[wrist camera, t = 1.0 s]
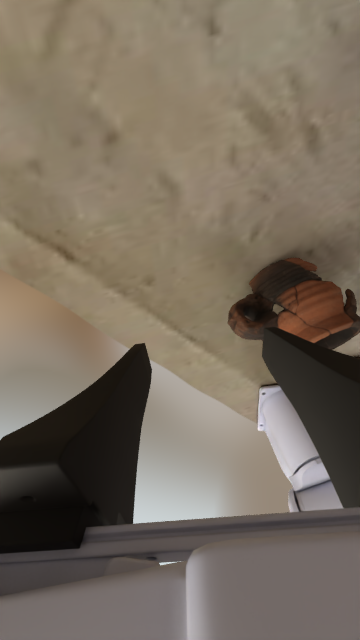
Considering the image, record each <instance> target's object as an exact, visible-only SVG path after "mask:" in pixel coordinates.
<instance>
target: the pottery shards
mask: <svg viewBox="0 0 360 640" xmlns="http://www.w3.org/2000/svg"><path fill="white" fill-rule="evenodd" d="M316 270H317V266H315V265H314V264H312V263H309V262H306V261H303V260H302V259H300V258H288V259H284V260H280V261H278V262H276V263H273V264H271V265H269V266H268V267H266V268H264V269H263V270H262V271H260V272H259V273H258V274H257V275H256V276H255V277H254V278H253V279H252V280H251V282H250V283H249V285H250V286H251V287H252V291H253V293H254V294H249V295H247V296H246V298H244V299H241V300H239V301H238V302H237V303H235V304H234V305H233V306H232V307H231V309H230V311H229V316H228V324H229V325H230V327H231V329H232V330H233V331H234V332H235V334H237V335H238V336H240V337H242V338H244V339H249V340H262V341H263V335H264V328H268V327H277V328H280V329H282V330H285V331H287V332H289V333H292V334H294V335H296V336H298V337H301V338H303V339H305V340H308V341H310V342H312V343H315V344H317V345H320V346H322V347H325V348H328V349H330V350H333V349H335V348H337V347H338V346H340V345H342V344H344V343H345V342H347V341H348V340H350V339H351V338H353V337H354V336H356V335H357V334H358V333H359V332H360V317H359V316H358V315H357V314H356V311H357V303H356V299H355V295H354V293H353V292H352V291H351V290H350V289H347V290H346V291H345V293H346V297H347V299H346V304H345V306H344V302H343V295H342V292H341V288H339V287H338V286H336V285H335V284H334V283H333V282H330V281H322V278H321V277H319V276H318V275H316V274H314V273H312V272H310V271H316ZM274 304H277V305H279V306H281V307H283V308H284V310H283V311H281V312H279V314H278V315H277V314H276V313H275V312H273V311H272V310H273V306H274Z"/></svg>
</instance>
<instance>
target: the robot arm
mask: <svg viewBox="0 0 360 640" xmlns="http://www.w3.org/2000/svg"><path fill="white" fill-rule="evenodd" d="M262 357H263V359H264V361H265V363H266V365H267V367H268V369H269V371H270V373H271V374H272V376H273V377H274V379H275V380H276V382H277V383H278V385H274V386H266V387H261V388H260V389H259V406H258V426H257V427H258V430H259V431H265V432H266V434H267V436H268V439H269V441H270V443H271V446H272V448H273V450H274V452H275V454H276V457H277V459H278V462H279V464H280V466H281V468H282V470H283V472H284V474H285V475H286V477H287V478H288V479H289V480H290V482H291V484H292V486H293V489H290V490H289V499H288V503H289V509H290V512H287V513H275V514H260V515H248V516H247V515H246V516H234V517H219V518H206V519H194V520H193V519H192V520H179V521H165V522H152V523H139V524H133V513H134V512H133V511H134V497H135V485H136V472H137V461H138V452H139V443H140V435H141V434H140V433H141V426H142V421H143V416H144V412H145V407H146V402H147V398H148V394H149V389H150V384H151V373H152V369H151V364H150V361H149V357H148V353H147V350H146V346H145V343H142V344H135V345H134V346H133V347H132V348H131V349H130V350H129V351H128V352H127V353H126V354H125V355H124V356H123V357H122V358H121V359H120V360H119V361H118V362H117V363H116V364H115V365H114V366H113V367H112V368H110V370H108V371H107V372H106V373H105V374H104V375H103V376H102V377H101V378H99V379H98V380H97V381H96V382H94V383H93V384H92V385H91V386H89V387H88V388H87V389H85V390H84V391H82V392H81V393H80V394H78V395H77V396H75V397H74V398H72V399H71V400H69V401H68V402H66V403H65V404H63V405H62V406H60V407H58V408H57V409H55V410H53V411H52V412H50V413H48V414H46V415H45V416H43V417H41V418H39V419H37V420H36V421H34V422H32V423H30V424H28V425H26V426H24V427H22V428H20V429H18V430H16V431H15V432H12V433H10V434H8V435H6V436H5V437H3V438H2V439H1V440H0V640H360V359H358V358H354V357H351V356H348V355H345V354H342V353H339V352H336V351H333V350H330V349H328V348H325V347H322V346H320V345H317V344H315V343H312V342H310V341H308V340H305V339H303V338H301V337H298V336H296V335H294V334H292V333H289V332H287V331H285V330H282V329H280V328H277V327H268V328H264V335H263V350H262ZM177 561H182V562H177ZM161 562H177V563H172V564H166V565H161V566H160V564H159V563H161Z"/></svg>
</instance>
